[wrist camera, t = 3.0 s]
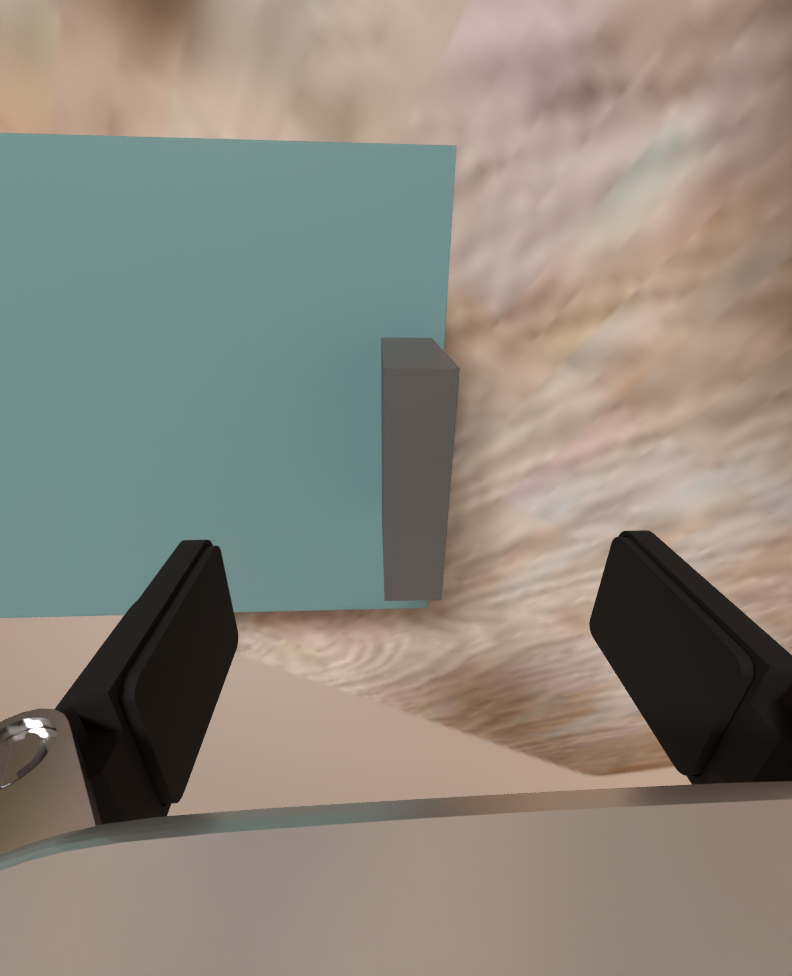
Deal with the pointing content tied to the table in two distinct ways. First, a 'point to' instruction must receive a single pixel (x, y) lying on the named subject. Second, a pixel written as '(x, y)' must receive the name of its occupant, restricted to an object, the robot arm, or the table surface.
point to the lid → (224, 369)
